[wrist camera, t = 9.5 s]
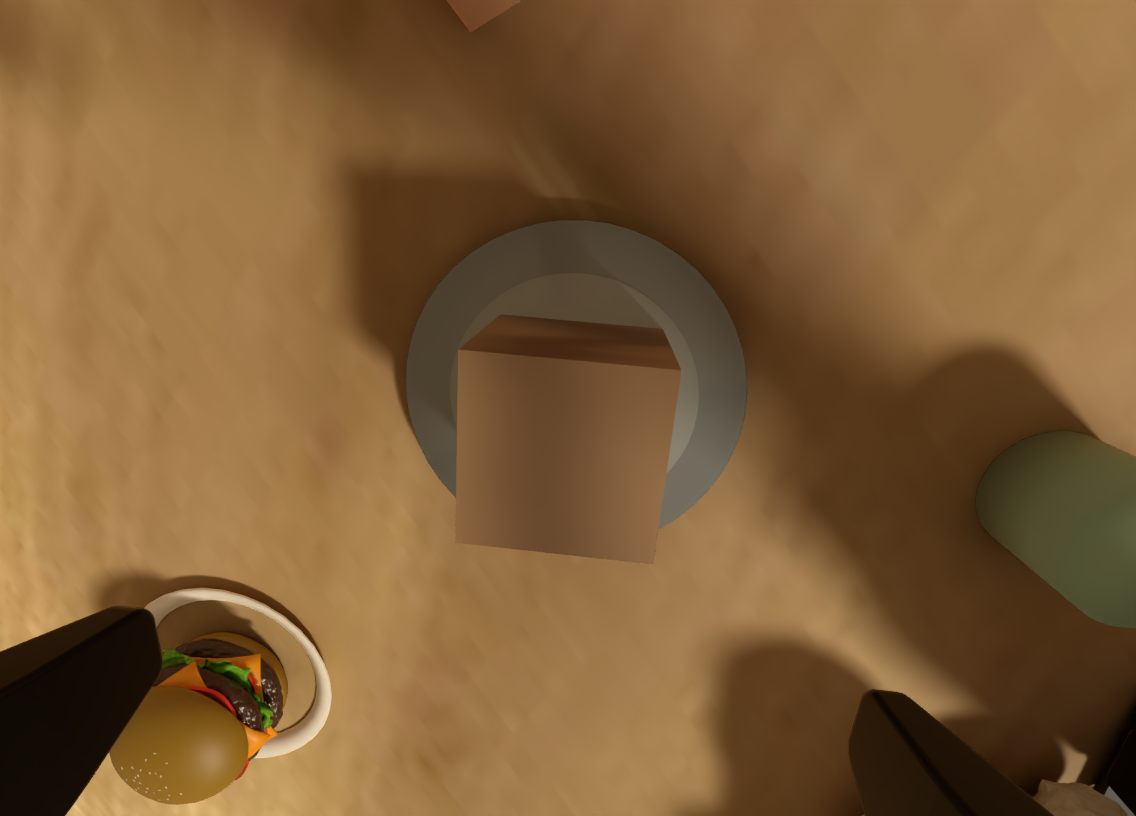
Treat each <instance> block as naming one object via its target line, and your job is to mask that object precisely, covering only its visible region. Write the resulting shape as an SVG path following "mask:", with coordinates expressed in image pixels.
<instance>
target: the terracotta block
mask: <svg viewBox="0 0 1136 816" xmlns="http://www.w3.org/2000/svg"><path fill="white" fill-rule="evenodd" d="M446 1H447V2H448V3H449V5H450V6H451V7H452V9H453V10H454V11H455V13H456V14H457V15H458V17H459V18H460V19H461V21H462V22H463V23H464V25H465V26H466V27H467V29H468V30H469V31H470V32H473V31H474V30H476V29H477V28H479V27H481V26H482V25H484V24H485V23H487V22H488V21H490V20H492V19H493V18H495V17H496V16H498V15H500V14H501V13H503V12H504V11H506V10H508V9H509V8H511V7H512V6H514V5H515V4H517V3H519V2H520V1H522V0H446Z"/></svg>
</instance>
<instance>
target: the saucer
mask: <svg viewBox="0 0 1136 816" xmlns="http://www.w3.org/2000/svg"><path fill="white" fill-rule="evenodd" d="M500 314H502V315H513V316H524V317H536V318H547V319H558V320H569V321H580V322H591V323H602V324H614V325H625V326H636V327H647V328H658V329H663V330H664V332H665V335H666V337H667V339H668V341H669V344H670V346H671V348H672V350H673V352H674V355H675V357H676V359H677V361H678V363H679V366H680V368H681V370H682V371H681V378H680V385H679V392H678V398H677V405H676V412H675V419H674V426H673V433H672V439H671V446H670V453H669V460H668V467H667V474H666V481H665V487H664V494H663V501H662V508H661V515H660V522H659V528H658V529H660V528H661V527H663V526H665V525H666V524H668V523H670V522H671V521H673V520H675V519H676V518H678V517H679V516H680V515H682V514H683V513H684V512H686V511H687V510H688V509H689V508H691V507H692V506H693V505H694V504H695V503H696V502H697V501H698V500H699V499H700V498H701V497H702V496H703V495H704V494H705V493H706V492H707V491H708V490H709V489H710V488H711V486H712V485H713V484H714V482H715V481H716V480H717V478H718V477H719V476H720V474H721V473H722V471H723V469H724V468H725V466H726V464H727V462H728V461H729V459H730V457H731V455H732V453H733V450H734V448H735V445H736V443H737V441H738V438H739V435H740V431H741V428H742V424H743V420H744V416H745V408H746V399H747V374H746V366H745V360H744V354H743V349H742V346H741V343H740V340H739V336H738V333H737V330H736V327H735V325H734V323H733V321H732V319H731V317H730V315H729V313H728V311H727V309H726V307H725V305H724V304H723V302H722V301H721V299H720V298H719V296H718V295H717V293H716V292H715V290H714V289H713V287H712V286H711V285H710V284H709V283H708V282H707V281H706V280H705V278H704V277H703V276H702V275H701V274H700V273H699V272H698V271H697V270H696V269H695V268H694V267H693V266H692V265H691V264H689V263H688V262H687V261H686V260H685V259H683V258H682V257H681V256H680V255H679V254H677V253H676V252H674V251H672V250H671V249H669V248H668V247H666V246H665V245H663V244H661V243H660V242H658V241H656V240H654V239H652V238H650V237H648V236H645V235H643V234H641V233H639V232H636V231H634V230H631V229H627V228H624V227H621V226H617V225H614V224H609V223H603V222H596V221H589V220H559V221H552V222H544V223H537V224H534V225H530V226H526V227H523V228H519V229H516V230H513V231H511V232H508V233H506V234H504V235H501V236H499V237H497V238H495V239H492V240H491V241H489V242H487V243H486V244H484V245H483V246H481V247H479V248H478V249H476V250H474V251H473V252H472V253H470V254H469V255H468V256H467V257H465V258H464V259H463V260H462V261H461V262H459V263H458V264H457V265H456V266H455V267H454V268H453V269H452V270H451V271H450V272H449V273H448V274H447V275H446V277H445V278H444V279H443V280H442V281H441V282H440V283H439V285H438V286H437V288H436V289H435V290H434V292H433V293H432V295H431V296H430V298H429V299H428V301H427V302H426V304H425V306H424V309H423V311H422V313H421V315H420V317H419V319H418V321H417V323H416V326H415V330H414V333H413V336H412V339H411V342H410V347H409V352H408V358H407V364H406V394H407V405H408V410H409V414H410V418H411V423H412V427H413V429H414V432H415V435H416V438H417V440H418V443H419V445H420V447H421V449H422V451H423V453H424V455H425V457H426V459H427V461H428V463H429V464H430V466H431V467H432V469H433V470H434V472H435V473H436V475H437V476H438V478H439V479H440V480H441V482H442V483H443V484H444V485H445V486H446V487H447V488H448V490H449V491H450V492H451V493H452V494H453V495H454V496H455V497H456V469H457V394H458V349H459V348H461V347H462V346H463V345H464V344H465V343H467V342H468V341H469V340H470V339H471V338H473V337H474V336H475V335H476V334H477V333H479V332H480V331H481V330H482V329H483V328H485V327H486V326H487V325H488V324H489V323H491V322H492V321H493V320H494V319H496V318H497V317H498V316H499V315H500Z"/></svg>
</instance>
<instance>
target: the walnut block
mask: <svg viewBox="0 0 1136 816" xmlns="http://www.w3.org/2000/svg"><path fill="white" fill-rule="evenodd" d="M681 371H682V370H681V368H680V366H679V363H678V361H677V359H676V357H675V355H674V352H673V350H672V348H671V346H670V344H669V341H668V339H667V337H666V335H665V332H664V330H663V329H658V328H647V327H636V326H625V325H614V324H602V323H591V322H580V321H569V320H558V319H547V318H536V317H524V316H513V315H502V314H500V315H499V316H498V317H497V318H496V319H494V320H493V321H492V322H491V323H489V324H488V325H487V326H486V327H485V328H483V329H482V330H481V331H480V332H479V333H477V334H476V335H475V336H474V337H473V338H471V339H470V340H469V341H468V342H467V343H465V344H464V345H463V346H462V347H461V348H459V349H458V394H457V469H456V543H465V544H474V545H483V546H492V547H501V548H510V549H519V550H528V551H537V552H546V553H555V554H564V555H573V556H583V557H592V558H601V559H610V560H619V561H628V562H637V563H646V564H653V563H654V556H655V549H656V542H657V535H658V528H659V522H660V515H661V508H662V501H663V494H664V487H665V481H666V474H667V467H668V460H669V453H670V446H671V439H672V433H673V426H674V419H675V412H676V405H677V398H678V392H679V385H680V378H681Z"/></svg>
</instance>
